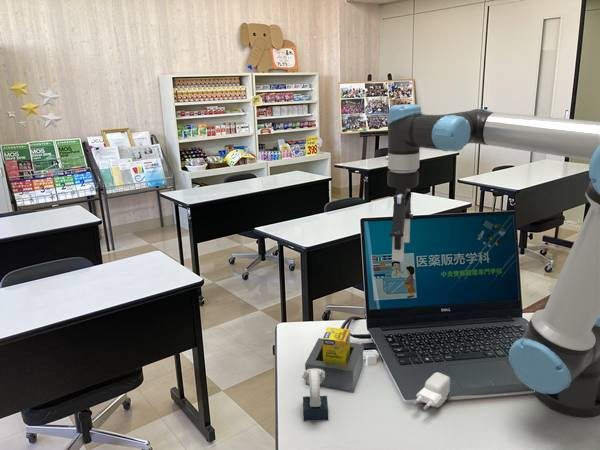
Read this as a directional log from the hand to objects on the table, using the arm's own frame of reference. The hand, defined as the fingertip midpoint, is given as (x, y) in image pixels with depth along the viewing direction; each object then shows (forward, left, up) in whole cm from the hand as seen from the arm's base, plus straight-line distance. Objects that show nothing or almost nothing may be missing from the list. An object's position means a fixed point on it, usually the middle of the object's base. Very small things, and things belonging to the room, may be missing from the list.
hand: (401, 251), depth 122 cm
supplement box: (+14, +15, -28) cm, 35 cm away
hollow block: (+14, +16, -29) cm, 36 cm away
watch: (+15, +31, -29) cm, 45 cm away
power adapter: (-10, +22, -29) cm, 38 cm away
